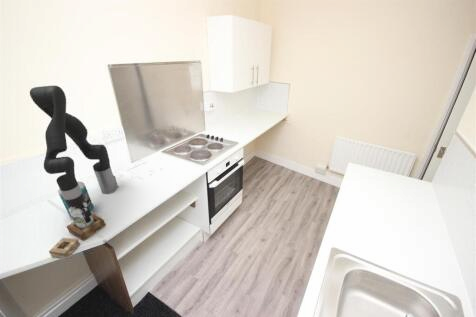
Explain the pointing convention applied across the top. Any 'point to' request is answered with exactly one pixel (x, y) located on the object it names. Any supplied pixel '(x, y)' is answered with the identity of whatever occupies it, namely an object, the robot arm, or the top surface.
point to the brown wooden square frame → (87, 231)
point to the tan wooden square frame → (59, 247)
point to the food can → (87, 200)
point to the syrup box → (80, 218)
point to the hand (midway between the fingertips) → (83, 219)
